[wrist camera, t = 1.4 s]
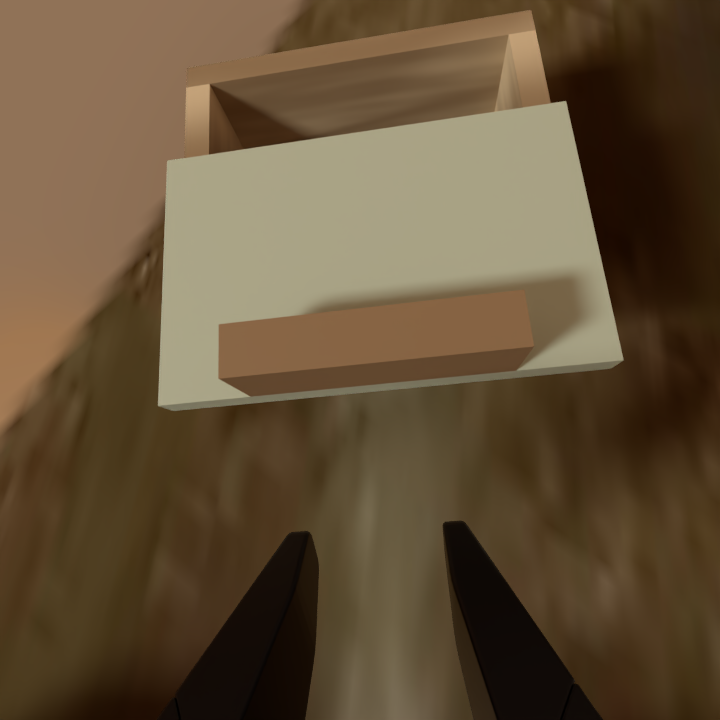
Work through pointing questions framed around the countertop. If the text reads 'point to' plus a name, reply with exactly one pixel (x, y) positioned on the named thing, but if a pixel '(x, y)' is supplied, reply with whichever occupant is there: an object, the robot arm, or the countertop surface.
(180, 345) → the lid
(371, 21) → the countertop surface
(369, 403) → the countertop surface
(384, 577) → the countertop surface
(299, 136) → the box
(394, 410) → the countertop surface
